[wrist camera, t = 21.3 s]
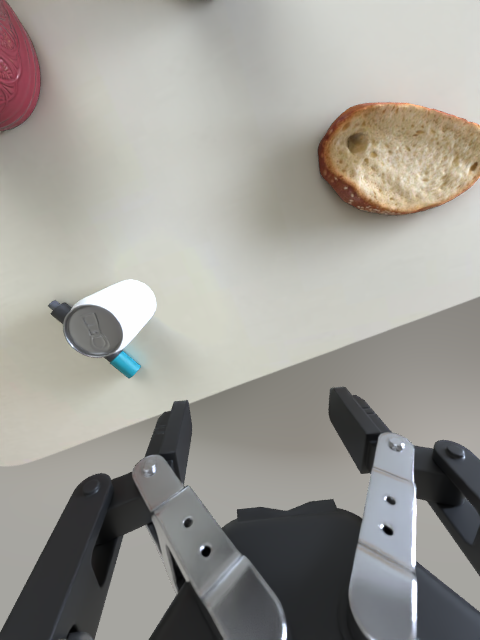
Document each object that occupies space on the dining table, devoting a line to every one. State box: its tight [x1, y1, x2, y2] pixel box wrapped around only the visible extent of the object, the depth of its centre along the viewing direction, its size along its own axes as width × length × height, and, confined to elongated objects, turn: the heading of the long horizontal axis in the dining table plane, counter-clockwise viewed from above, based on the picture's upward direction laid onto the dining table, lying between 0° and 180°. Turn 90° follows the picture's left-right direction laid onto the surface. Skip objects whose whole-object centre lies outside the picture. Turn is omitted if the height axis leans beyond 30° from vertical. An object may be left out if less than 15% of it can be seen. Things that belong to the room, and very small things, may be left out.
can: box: [63, 280, 156, 358], centre depth 30 cm, size 6×6×12 cm
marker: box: [48, 300, 141, 378], centre depth 36 cm, size 15×2×2 cm
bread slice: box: [318, 102, 480, 215], centre depth 31 cm, size 18×18×4 cm
